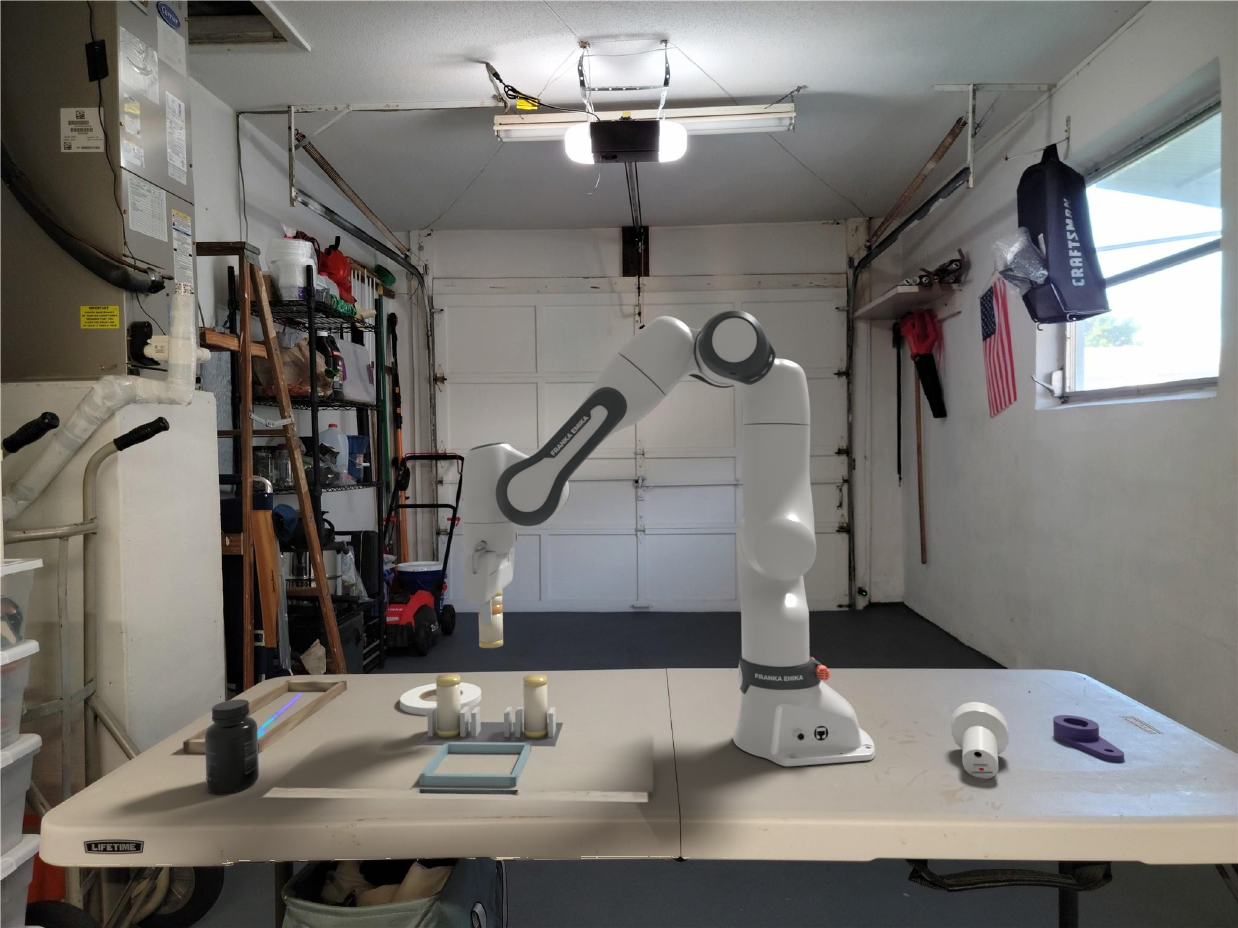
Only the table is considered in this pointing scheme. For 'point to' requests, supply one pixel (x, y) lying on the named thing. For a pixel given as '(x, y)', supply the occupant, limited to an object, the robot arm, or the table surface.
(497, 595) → the cylinder
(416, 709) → the roll of tape
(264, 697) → the wooden frame
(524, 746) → the tray
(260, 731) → the spoon
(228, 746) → the supplement bottle
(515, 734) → the clip block
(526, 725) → the fuse
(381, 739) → the table surface
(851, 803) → the table surface
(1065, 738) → the lever
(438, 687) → the fuse
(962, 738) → the spotlight
